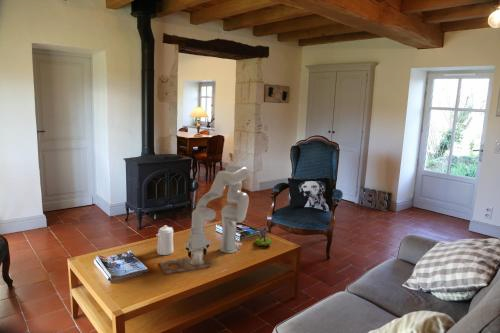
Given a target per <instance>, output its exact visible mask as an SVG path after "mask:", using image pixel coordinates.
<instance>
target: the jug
mask: <svg viewBox="0 0 500 333" xmlns="http://www.w3.org/2000/svg"><path fill="white" fill-rule="evenodd" d="M191 257H192V263H194V264H200V263H202V262H203V257H204V254H203V248H198V249H192V250H191Z"/></svg>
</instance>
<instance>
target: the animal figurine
mask: <svg viewBox="0 0 500 333" xmlns="http://www.w3.org/2000/svg"><path fill="white" fill-rule="evenodd" d="M268 231H269V227H268V225H265V226H264V227H262V228H261V231H260V236H259V237H257V238H255V239H254V241H253V242H254V243H255V244H256V245H259V246H263V247H264V246H265V247H266V246H269V245H271V244H272V242H273V240H272V239H271V238H269V237H266V236H268V235H270V234H268V233H267V232H268Z"/></svg>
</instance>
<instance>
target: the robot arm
mask: <svg viewBox="0 0 500 333" xmlns="http://www.w3.org/2000/svg"><path fill="white" fill-rule="evenodd" d="M248 175H249V169H248V168H247V167H246V166H243V165H238V164H234V163H229V164H227V165H226V166H225V169H224V170H219V171H218V172H217V174H216V175H215V178H214V180H213V183H212V184H211V186H210V189H209V190H208V192H206V193H205V194H204V195H203V196H202V197H201V198H200V199H199V200H198V202H197V204H196V207H195V210H193V211H192V212H191V227H190V228H189V232H190V234H189V239H188V240H189V241H187V242H186V243H185V244H183V246H184V249H185V250H186V251H187V257H188V258H189V257H190V258H191V257H192V250H193V249H198V248H201V249H203V256H207V250H208V248H209V247H210V245H211V240H208V239H207V234H206V231H205V222H211V221H214V220H215V218H216V217H217V212H216V211H215V209H213V208H209V207H207V205H208V203H209V202H210V201H212V200H215V199H217V198H221V197H222V196H223V195H224V192H225V189H226V187H227V186H228V190H227V195H226V201H227V203H228V204H229V205H227V204H226V205H224V206H223V207H222V208H221V211H220V213H221V219H222V232H221V234H222V235H221V246H219V251H220V252H222V253H225V254H232V253H236V252H238V250H239V249H238V247H242V246H243V244H242V242H240V243H239V242H237V241H236V240H237V239H236V238H237V223H243V222H244V220H246V216H247V212H248V207H249V203H250V198H249V195H248V194H247V193H246V192H244V191H242V186H243V180H245V179H246V178H247V177H248ZM230 204H231V205H230ZM188 246H189V247H188Z"/></svg>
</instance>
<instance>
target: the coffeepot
mask: <svg viewBox="0 0 500 333" xmlns="http://www.w3.org/2000/svg"><path fill="white" fill-rule="evenodd" d="M174 231H175V230H174V228H173V227H172V226H168V225H166V224H165V225H163V226H162V227H160V228H159V229H158V231H157V232H158V233H156V234H155V235H156V237H157V246H156V253H157V254H158V255H160V256H169V255H171V254H173V253H174V250H175V249H174Z"/></svg>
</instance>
